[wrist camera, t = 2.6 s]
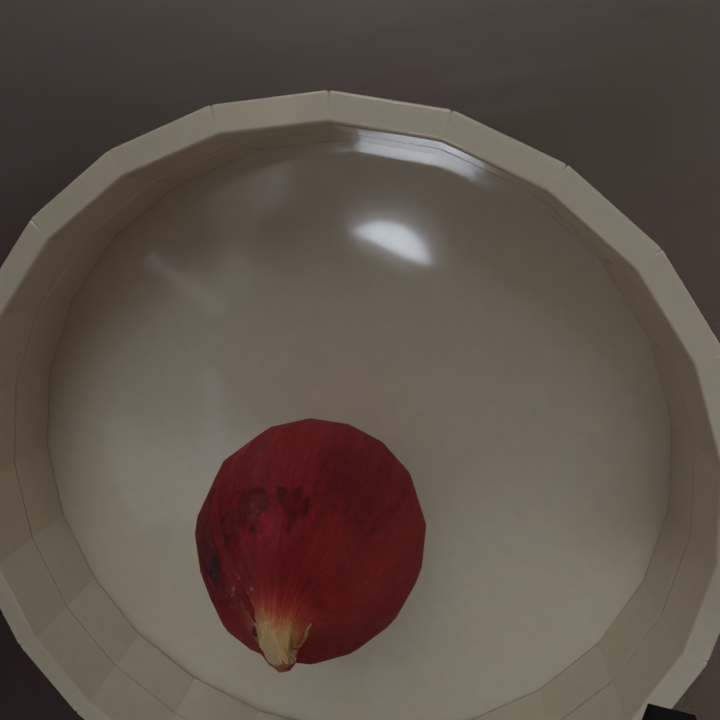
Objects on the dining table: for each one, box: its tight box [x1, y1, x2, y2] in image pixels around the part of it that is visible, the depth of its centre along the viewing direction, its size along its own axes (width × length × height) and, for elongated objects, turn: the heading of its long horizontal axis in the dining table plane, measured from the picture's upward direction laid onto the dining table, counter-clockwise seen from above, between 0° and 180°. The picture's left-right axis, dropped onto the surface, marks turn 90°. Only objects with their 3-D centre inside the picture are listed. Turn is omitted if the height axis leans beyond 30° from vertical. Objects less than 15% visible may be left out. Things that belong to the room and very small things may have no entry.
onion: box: [195, 418, 426, 673], centre depth 15 cm, size 6×6×8 cm
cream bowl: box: [0, 90, 720, 720], centre depth 17 cm, size 21×21×4 cm
